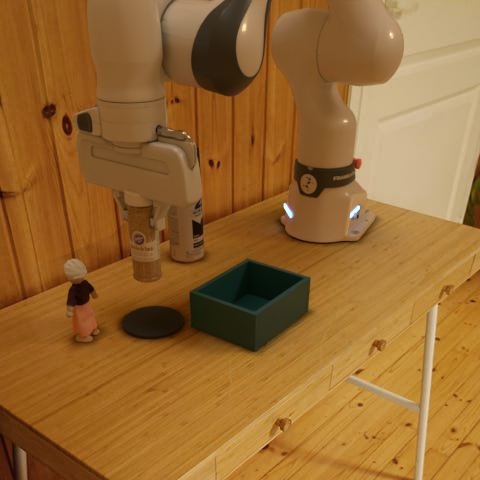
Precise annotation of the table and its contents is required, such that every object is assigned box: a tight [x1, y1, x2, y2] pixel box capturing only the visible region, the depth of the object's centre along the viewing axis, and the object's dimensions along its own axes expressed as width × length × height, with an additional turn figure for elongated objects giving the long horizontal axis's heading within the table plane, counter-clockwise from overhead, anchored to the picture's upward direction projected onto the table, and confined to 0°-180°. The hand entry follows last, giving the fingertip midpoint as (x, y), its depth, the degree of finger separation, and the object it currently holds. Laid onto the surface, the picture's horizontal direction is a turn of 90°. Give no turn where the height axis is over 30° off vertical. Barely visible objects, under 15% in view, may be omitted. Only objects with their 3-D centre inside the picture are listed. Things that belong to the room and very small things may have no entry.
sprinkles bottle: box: [124, 190, 163, 284], centre depth 89 cm, size 5×5×13 cm
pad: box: [121, 305, 185, 340], centre depth 99 cm, size 10×10×1 cm
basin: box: [188, 257, 312, 352], centre depth 98 cm, size 16×13×6 cm
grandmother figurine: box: [63, 258, 101, 343], centre depth 91 cm, size 8×4×13 cm, turn 171°
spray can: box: [166, 145, 205, 263], centre depth 113 cm, size 7×7×20 cm
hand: (143, 224), depth 89 cm, fingers closed on sprinkles bottle, 4 cm apart
